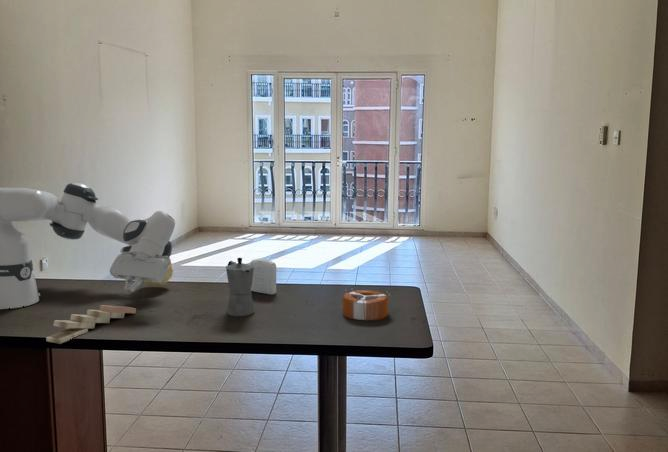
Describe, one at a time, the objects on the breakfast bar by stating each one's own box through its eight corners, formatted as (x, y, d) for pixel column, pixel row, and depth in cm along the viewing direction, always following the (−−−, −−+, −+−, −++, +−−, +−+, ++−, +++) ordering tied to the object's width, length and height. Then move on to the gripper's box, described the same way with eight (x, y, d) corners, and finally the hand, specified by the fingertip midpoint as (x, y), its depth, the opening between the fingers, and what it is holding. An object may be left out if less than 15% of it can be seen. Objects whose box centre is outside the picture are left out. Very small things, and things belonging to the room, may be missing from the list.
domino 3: (98, 320, 177) (70, 319, 168) (99, 315, 177) (71, 314, 169) (109, 323, 175) (81, 322, 166) (110, 317, 175) (82, 316, 166)
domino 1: (82, 326, 172) (53, 325, 163) (83, 320, 172) (54, 320, 163) (94, 328, 169) (65, 328, 161) (95, 322, 170) (66, 322, 161)
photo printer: (278, 292, 209) (277, 259, 207) (271, 295, 205) (270, 261, 203) (255, 288, 214) (254, 256, 212) (248, 291, 210) (247, 258, 208)
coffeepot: (263, 315, 183) (262, 259, 180) (235, 320, 178) (234, 263, 175) (242, 303, 196) (241, 251, 193) (216, 307, 191) (215, 254, 188)
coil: (349, 305, 194) (392, 309, 190) (336, 319, 180) (382, 324, 176) (349, 285, 193) (392, 289, 189) (336, 297, 179) (382, 302, 175)
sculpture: (174, 288, 212) (163, 268, 205) (142, 292, 213) (131, 273, 206) (178, 265, 221) (168, 245, 213) (148, 270, 222) (137, 250, 214)
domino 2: (75, 331, 169) (46, 343, 160) (74, 326, 169) (46, 337, 159) (88, 333, 167) (59, 345, 158) (87, 328, 167) (59, 340, 158)
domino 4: (112, 315, 182) (86, 314, 173) (113, 310, 182) (87, 309, 173) (123, 318, 180) (98, 317, 171) (124, 313, 180) (99, 312, 171)
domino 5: (124, 311, 186) (99, 310, 177) (124, 306, 186) (100, 304, 178) (135, 313, 184) (111, 312, 175) (136, 308, 184) (112, 307, 175)
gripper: (177, 261, 190) (159, 298, 183) (128, 257, 198) (109, 292, 190) (167, 251, 185) (149, 288, 178) (117, 247, 193) (98, 282, 186)
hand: (128, 290), depth 184 cm, fingers closed
